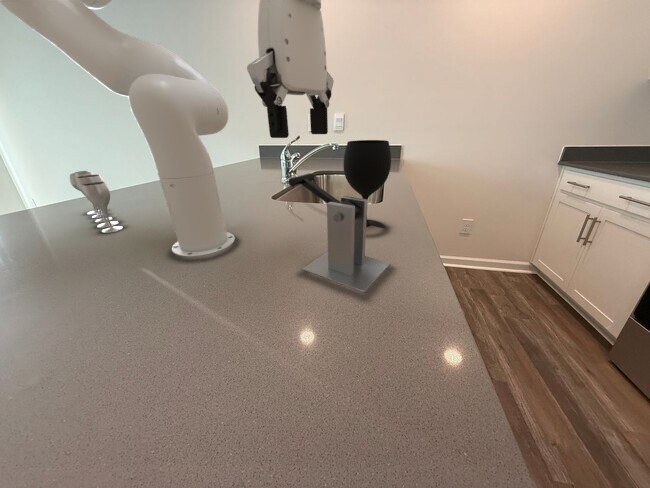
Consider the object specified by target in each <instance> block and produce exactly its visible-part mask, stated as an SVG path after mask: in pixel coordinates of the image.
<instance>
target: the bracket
mask: <svg viewBox="0 0 650 488" xmlns="http://www.w3.org/2000/svg"><path fill="white" fill-rule="evenodd" d="M346 200H348V201H349V202H351V203H352V204H354V205H355V206H357V207H358V208H359V209H360V212H359V214H358V216H357V217H356V219H355V206H352V205H346V204H341V203H335V202H329V203H326V220H327V222H326V223H327V227H326V228H327V251H326V252H325V253H323V254H322V255H320V256H319V257H317V258H315V259H314V260H312V261H311V262H310V263H308V264H307V265H305V266H304V267H302V268H301V270H302V271H305V272H307V273H310V274H313V275H315V276H318V277H321V278H323V279H326V280H329V281H331V282H334V283H337V284H340V285H342V286H345V287H348V288H350V289H353V290H356V291H359V292H361V293H365V292H366V291H367V290H368V289H369V288H370V287H371V286H372V285H373V284H374V283H375V281H377V279H378V278H379V277H380V276H381V275H382V274H383V273H384V272H385V271H386V270H387V269H388V267H389V266H391V263H390V262H388V261H383V260H380V259H378V258H373V257H369V256H367V255H366V241H367V240H366V239H367V238H366V237H367V227H366V220H368V203H367V199H362V197H361V198H360V197H355V196H354V197H353V196H348V195H347V196H346V195H343V196H341V197H340V202H343V201H346Z"/></svg>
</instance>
